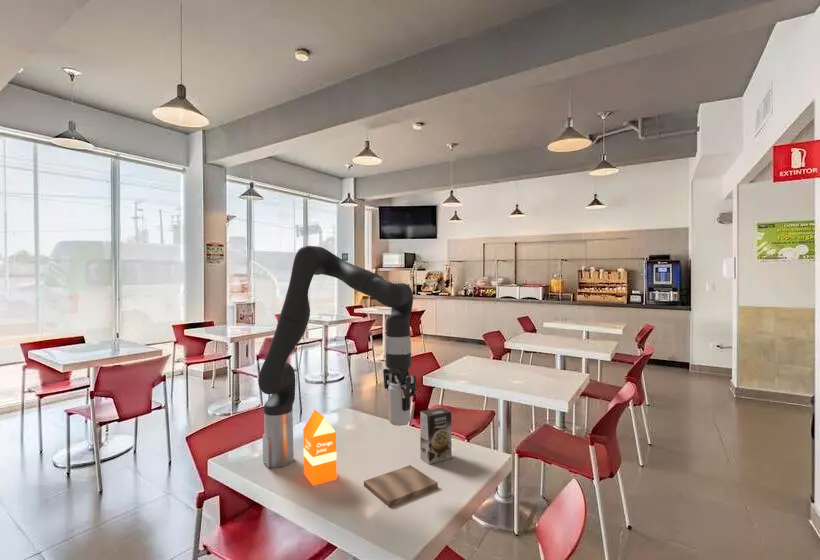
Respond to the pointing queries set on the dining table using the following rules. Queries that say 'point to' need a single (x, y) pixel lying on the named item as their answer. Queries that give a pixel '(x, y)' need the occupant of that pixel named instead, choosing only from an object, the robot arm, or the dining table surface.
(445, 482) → the dining table surface
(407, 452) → the dining table surface
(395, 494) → the walnut board
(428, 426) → the coffee box
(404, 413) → the beverage can
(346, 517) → the dining table surface
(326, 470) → the orange juice
